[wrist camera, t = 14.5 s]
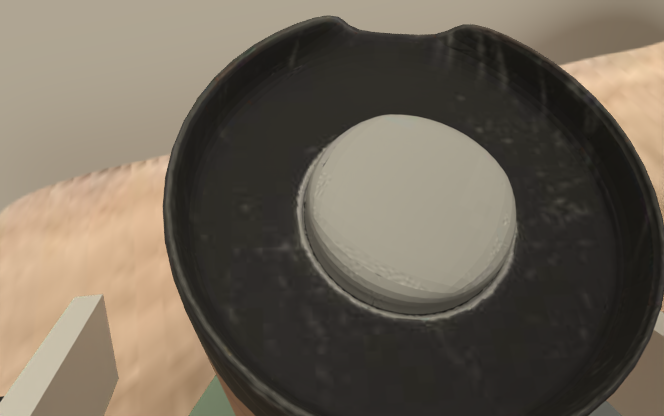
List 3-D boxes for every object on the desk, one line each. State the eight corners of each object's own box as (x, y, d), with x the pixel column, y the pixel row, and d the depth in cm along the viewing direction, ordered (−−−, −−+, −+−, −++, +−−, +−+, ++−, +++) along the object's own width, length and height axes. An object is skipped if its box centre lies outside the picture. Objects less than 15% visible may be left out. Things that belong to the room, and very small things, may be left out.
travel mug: (323, 532, 23) (468, 655, 5) (208, 399, 25) (36, 167, 7) (435, 400, 26) (765, 195, 8) (324, 291, 28) (396, -55, 10)
